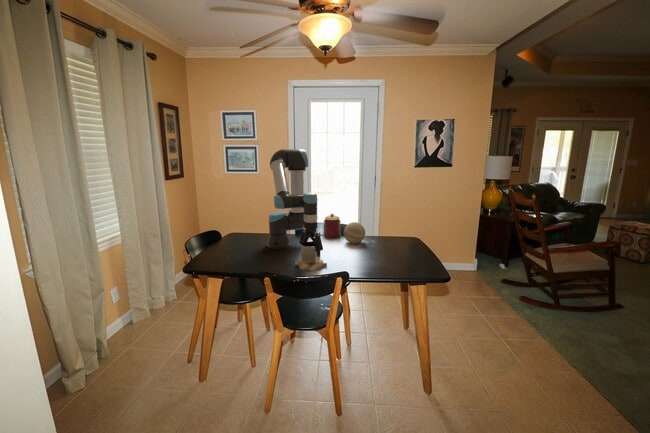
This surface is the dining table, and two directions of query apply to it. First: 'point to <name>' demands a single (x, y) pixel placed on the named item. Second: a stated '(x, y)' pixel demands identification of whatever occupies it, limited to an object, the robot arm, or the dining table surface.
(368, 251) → the dining table surface
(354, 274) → the dining table surface
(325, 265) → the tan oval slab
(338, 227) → the canister
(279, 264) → the dining table surface
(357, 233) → the decorative ball
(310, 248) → the planter
